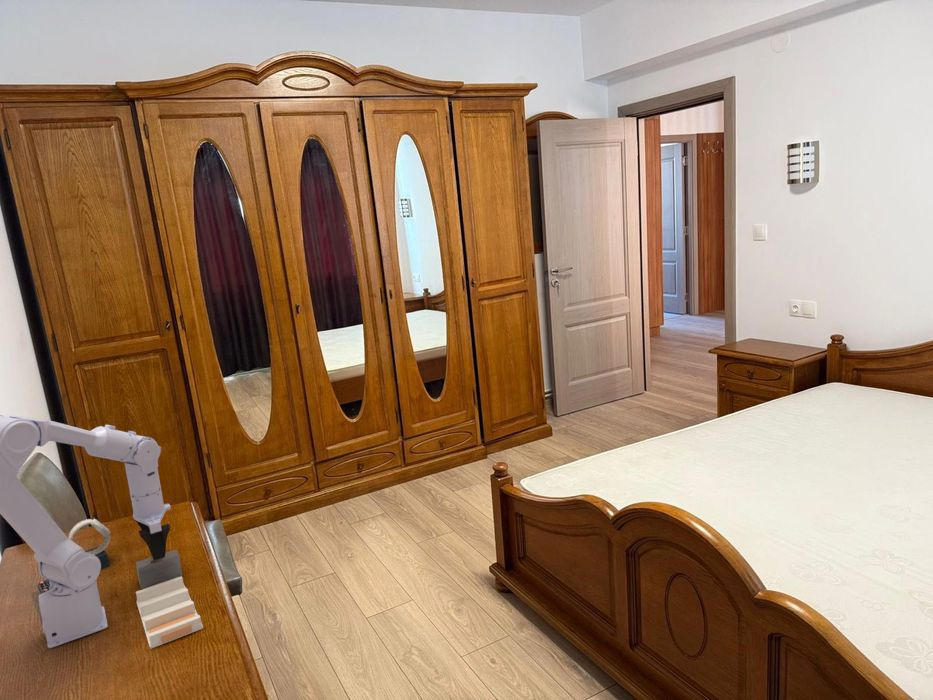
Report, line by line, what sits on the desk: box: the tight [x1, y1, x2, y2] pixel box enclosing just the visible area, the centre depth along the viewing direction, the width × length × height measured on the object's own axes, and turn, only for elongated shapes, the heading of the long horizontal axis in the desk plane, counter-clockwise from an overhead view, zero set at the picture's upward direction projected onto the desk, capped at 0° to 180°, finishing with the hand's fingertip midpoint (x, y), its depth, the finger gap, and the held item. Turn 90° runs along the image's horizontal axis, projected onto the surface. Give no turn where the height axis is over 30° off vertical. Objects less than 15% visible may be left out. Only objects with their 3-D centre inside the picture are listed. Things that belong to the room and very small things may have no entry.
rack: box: [135, 576, 204, 650], centre depth 119 cm, size 9×18×2 cm, turn 35°
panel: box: [135, 549, 183, 590], centre depth 132 cm, size 8×3×5 cm, turn 125°
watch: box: [67, 518, 112, 571], centre depth 138 cm, size 6×8×11 cm
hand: (156, 550), depth 131 cm, fingers open, 7 cm apart
